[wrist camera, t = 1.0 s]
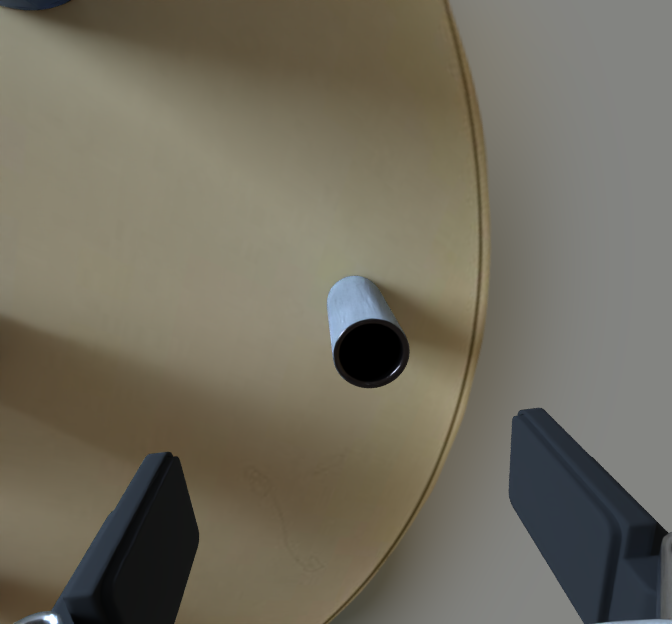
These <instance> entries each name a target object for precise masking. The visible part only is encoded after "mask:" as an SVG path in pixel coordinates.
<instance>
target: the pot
mask: <svg viewBox="0 0 672 624" xmlns="http://www.w3.org/2000/svg"><path fill="white" fill-rule="evenodd" d="M68 1H70V0H0V6H5V7H9V8H13V9H20V10H42V9H49V8H53V7H56V6H59V5H62V4H64V3H66V2H68Z"/></svg>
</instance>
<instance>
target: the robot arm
mask: <svg viewBox="0 0 672 624" xmlns="http://www.w3.org/2000/svg"><path fill="white" fill-rule="evenodd" d="M511 437H512V438H511V455H510V475H509V498H510V502H511V504H512V506H513V508H514V510H515V511H516V513H517V515H518V516H519V518H520V519H521V521H522V523H523V524H524V526H525V528H526V529H527V531H528V533H529V534H530V536H531V538H532V539H533V541H534V542H535V544H536V546H537V547H538V549H539V551H540V552H541V554H542V556H543V557H544V559H545V560H546V562H547V564H548V565H549V567H550V569H551V570H552V572H553V573H554V575H555V577H556V578H557V580H558V582H559V583H560V585H561V587H562V588H563V590H564V592H565V593H566V595H567V597H568V598H569V600H570V601H571V603H572V605H573V606H574V608H575V610H576V611H577V613H578V615H579V616H580V618H581V619H582V621H583V622H584V624H672V532H670V533H668V532H667V531H666V530H665V529H664V528H663V527H662V526H661V525H660V524H659V523H658V522H657V521H656V520H655V519H654V518H653V517H652V516H651V515H650V514H649V513H648V512H647V511H646V510H645V509H644V508H643V507H642V506H641V505H640V504H639V503H638V502H637V501H636V500H635V499H634V498H633V497H632V496H631V495H630V494H629V493H628V492H627V491H626V490H625V489H624V488H623V487H622V486H621V485H620V484H619V483H618V482H617V481H616V480H615V479H614V478H613V477H612V476H611V475H610V474H609V473H608V472H607V471H606V470H605V469H604V468H603V467H602V466H601V465H600V464H599V463H598V462H597V461H596V460H595V459H594V458H593V457H591V456H590V455H589V454H588V453H587V452H586V451H585V450H584V449H583V448H582V447H581V446H580V445H579V444H578V443H577V442H576V441H575V440H574V439H573V438H572V437H571V436H570V435H569V434H568V433H567V432H566V431H565V430H564V429H563V428H562V427H561V426H560V425H559V424H558V423H557V422H556V421H555V420H554V419H553V418H552V417H551V416H550V415H549V414H548V413H547V412H546V411H545V410H544V409H542V408H533V409H525V410H520V411H519V412H518V416H514V417H513V419H512V435H511ZM198 544H199V530H198V526H197V522H196V519H195V515H194V511H193V507H192V504H191V500H190V496H189V493H188V489H187V485H186V481H185V478H184V474H183V470H182V466H181V463H180V460H179V458H178V457H177V456H174V457H173V455H172V453H171V452H162V453H154V454H148V455H147V456H146V457H145V459H144V460H143V462H142V464H141V465H140V467H139V469H138V471H137V472H136V474H135V476H134V477H133V479H132V481H131V482H130V484H129V486H128V487H127V489H126V491H125V493H124V494H123V496H122V498H121V499H120V501H119V503H118V504H117V506H116V508H115V510H113V511H112V512H111V513H110V514H109V515H108V517H107V518H106V520H105V522H104V523H103V525H102V527H101V528H100V530H99V532H98V533H97V535H96V537H95V538H94V540H93V542H92V543H91V545H90V547H89V548H88V550H87V552H86V553H85V555H84V557H83V558H82V560H81V562H80V564H79V565H78V567H77V569H76V570H75V572H74V574H73V575H72V577H71V579H70V580H69V582H68V584H67V585H66V587H65V589H64V590H63V592H62V594H61V595H60V597H59V599H58V600H57V602H56V604H55V605H54V607H53V609H52V610H51V611H46V612H38V613H35V614H32V615H29V616H27V617H25V618H23V619H21V620H19V621H17V622H15V623H14V624H174V623H175V620H176V616H177V613H178V610H179V607H180V603H181V600H182V597H183V594H184V590H185V587H186V584H187V580H188V577H189V574H190V571H191V567H192V564H193V561H194V558H195V554H196V551H197V548H198Z"/></svg>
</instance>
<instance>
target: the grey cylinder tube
mask: <svg viewBox="0 0 672 624" xmlns="http://www.w3.org/2000/svg"><path fill="white" fill-rule="evenodd" d="M327 310H328V318H329V327H330V336H331V345H332V354H333V361H334V365H335V367H336V369H337V371H338V373H339V374H340V375H341V377H342V378H343V379H345V380H346V381H347V382H349V383H350V384H352V385H355V386H358V387H362V388H377V387H381V386H384V385H386V384H389V383H390V382H392V381H394V380H395V379H396V378H397V377H398V376H399V375H400V374H401V373H402V372H403V370H404V369H405V367H406V365H407V362H408V359H409V353H410V349H409V343H408V340H407V337H406V335H405V334H404V332H403V330H402V328H401V327H400V325H399V323H398V321H397V320H396V318H395V316H394V314H393V313H392V311H391V309H390V307H389V306H388V304H387V302H386V301H385V299H384V297H383V295H382V294H381V292H380V290H379V289H378V287H377V286H376V285H375V284H374V283H373V282H372V281H371V280H369V279H367V278H365V277H362V276H349V277H346V278H343V279H341V280H340V281H338V282H337V283H336V284H335V285H334V286H333V287H332V289H331V290H330V292H329V295H328V299H327Z"/></svg>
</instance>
